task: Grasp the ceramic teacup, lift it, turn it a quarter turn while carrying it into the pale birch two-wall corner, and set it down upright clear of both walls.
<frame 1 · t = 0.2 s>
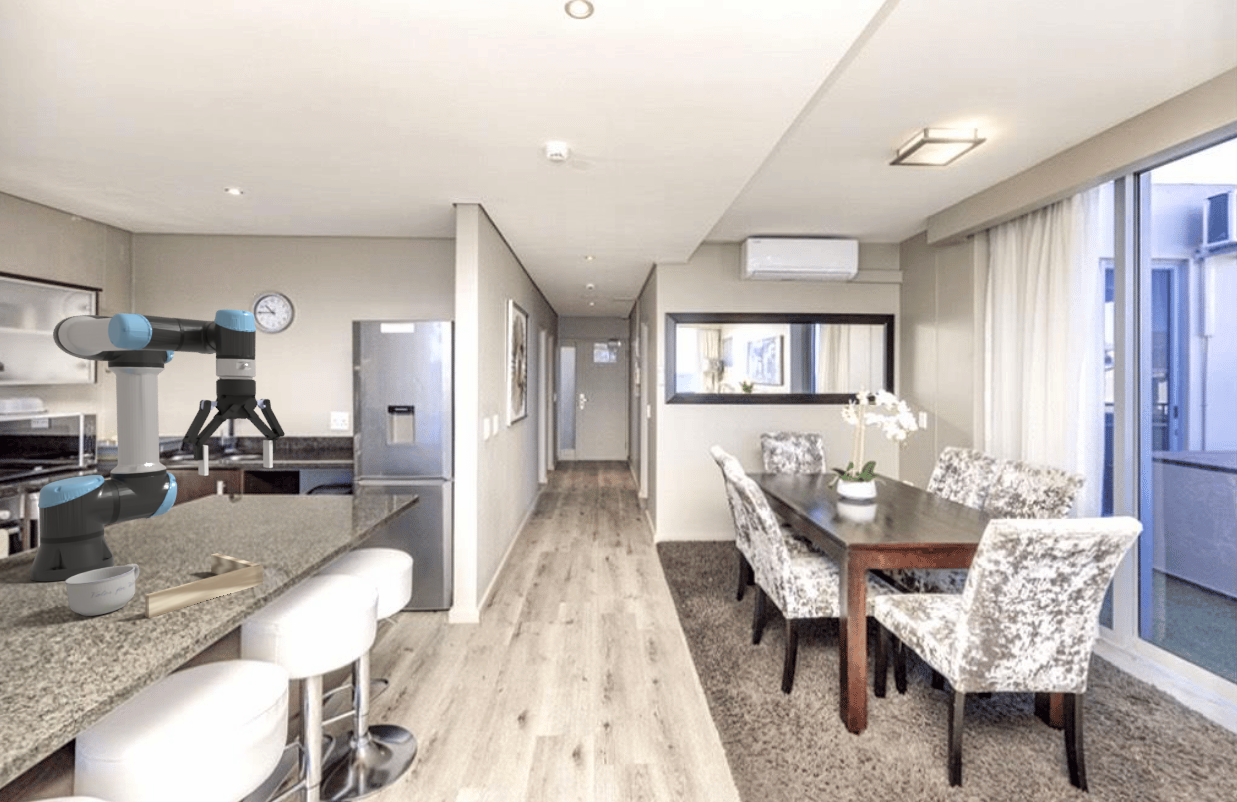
hand: (237, 471, 130), 27 cm above the counter, fingers open, 13 cm apart
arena: (184, 592, 128), on the counter
teacup: (109, 608, 120), on the counter
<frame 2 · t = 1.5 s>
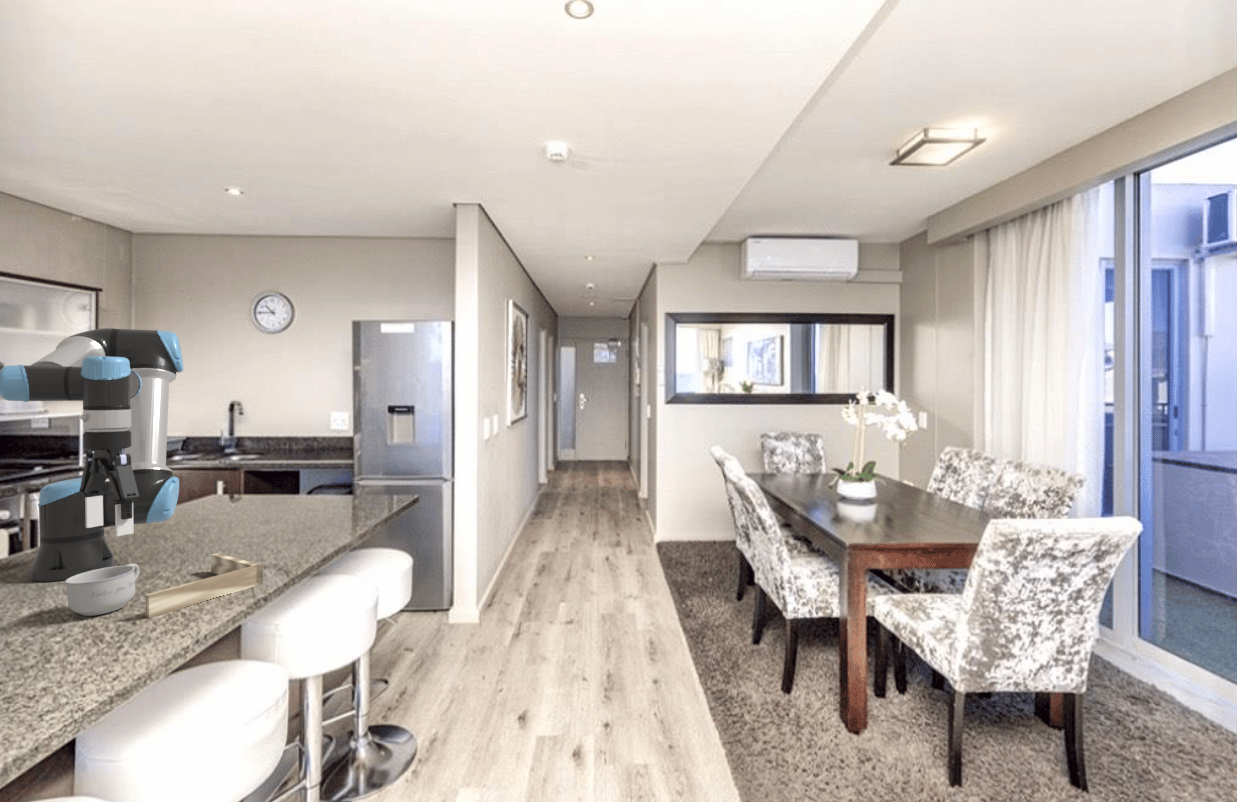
hand: (109, 530, 119), 16 cm above the counter, fingers open, 13 cm apart
nothing on the counter moved.
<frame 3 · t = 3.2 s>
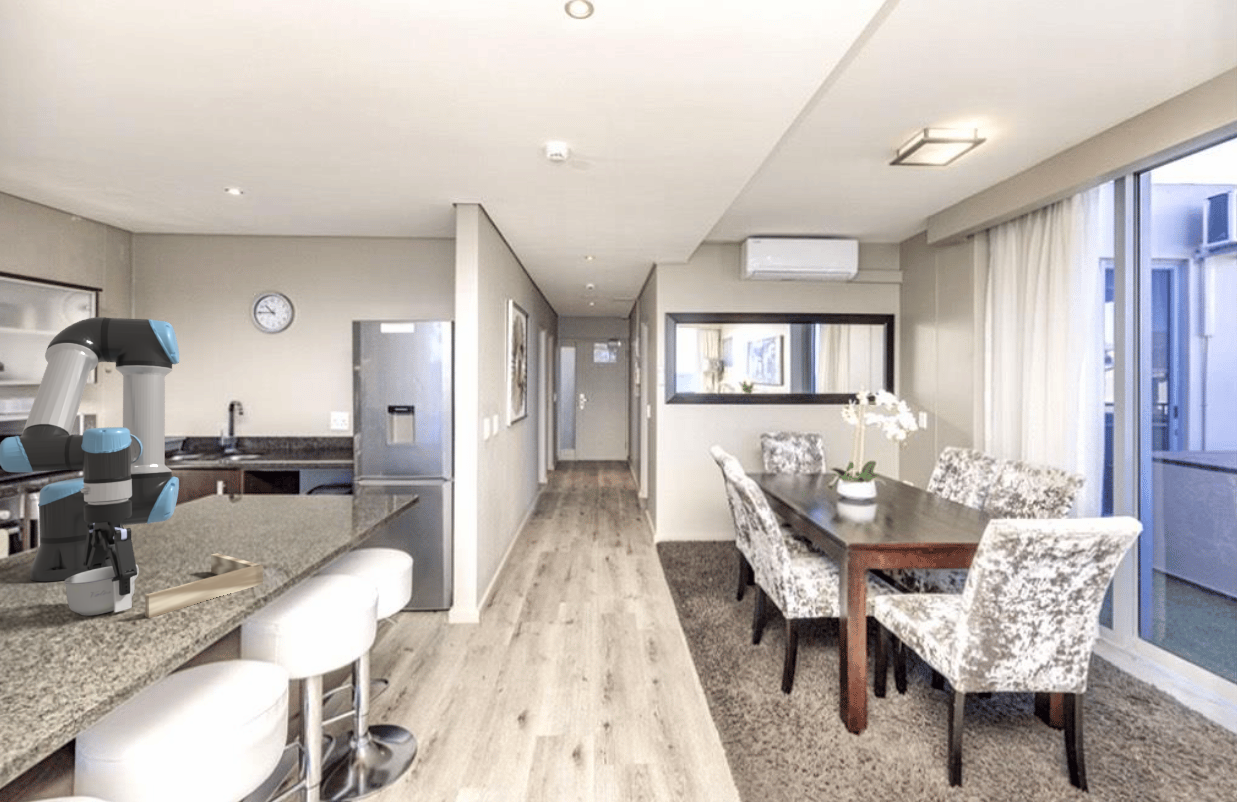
hand: (110, 604, 120), 1 cm above the counter, fingers closed on teacup, 11 cm apart
teacup: (109, 608, 120), on the counter, touching gripper
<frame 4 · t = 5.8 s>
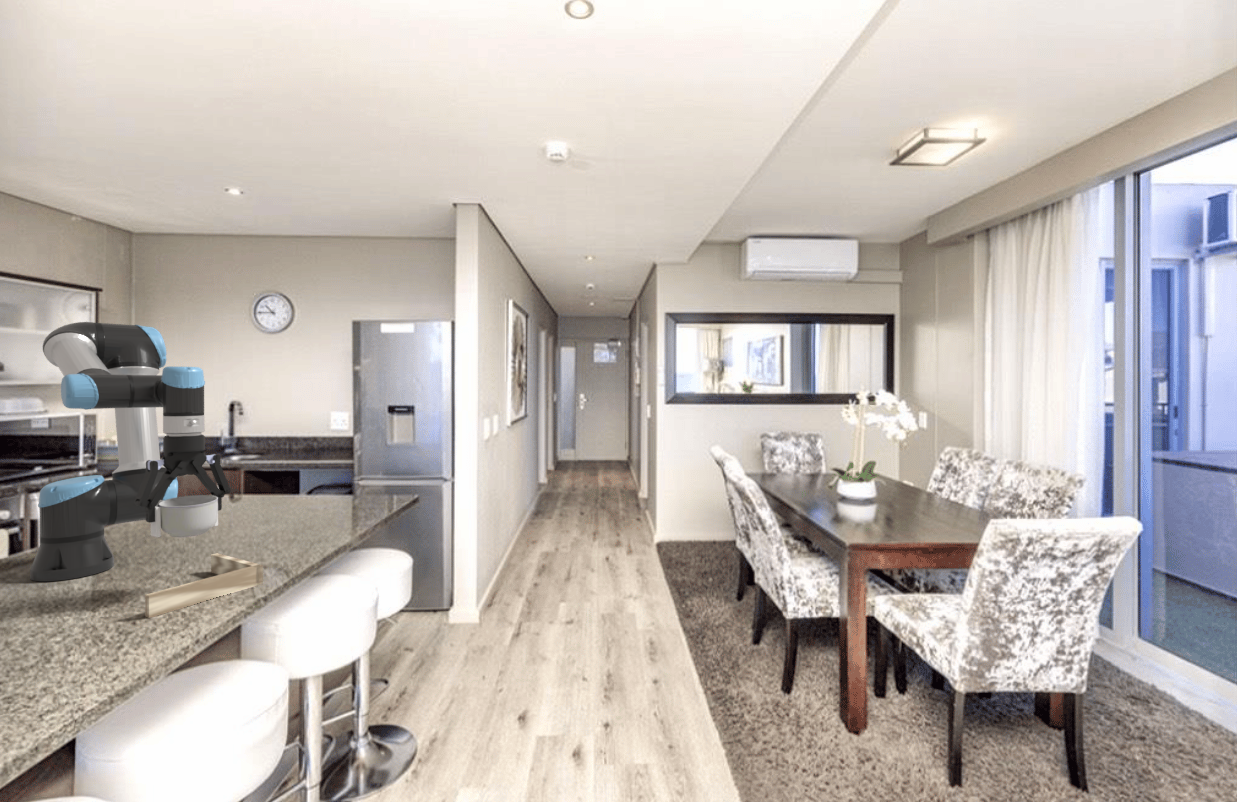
hand: (185, 530, 129), 14 cm above the counter, fingers closed on teacup, 11 cm apart
teacup: (183, 534, 129), point 13 cm above the counter, touching gripper
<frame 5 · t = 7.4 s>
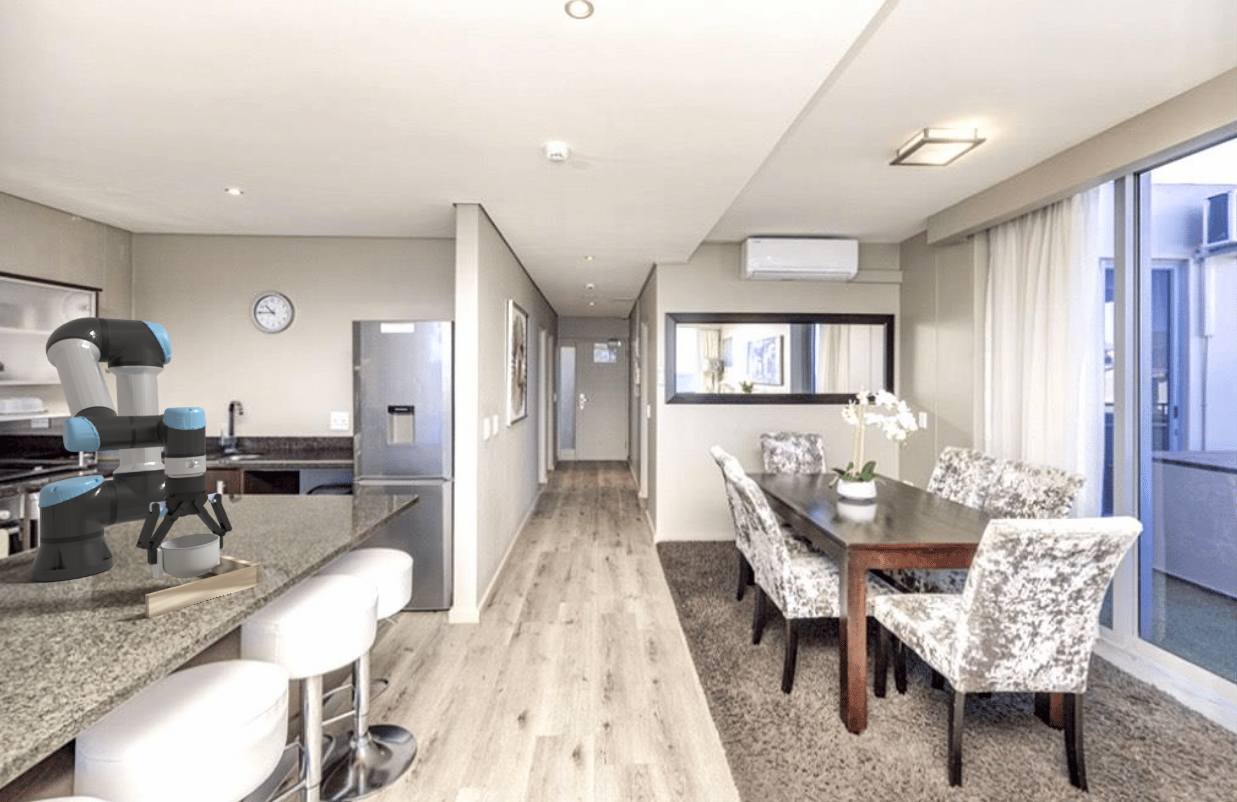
hand: (187, 570, 130), 5 cm above the counter, fingers closed on teacup, 11 cm apart
teacup: (185, 574, 129), point 4 cm above the counter, touching gripper
when the fingers open (2 cm above the counter, at t = 8.6 s): teacup drops 1 cm, on the counter.
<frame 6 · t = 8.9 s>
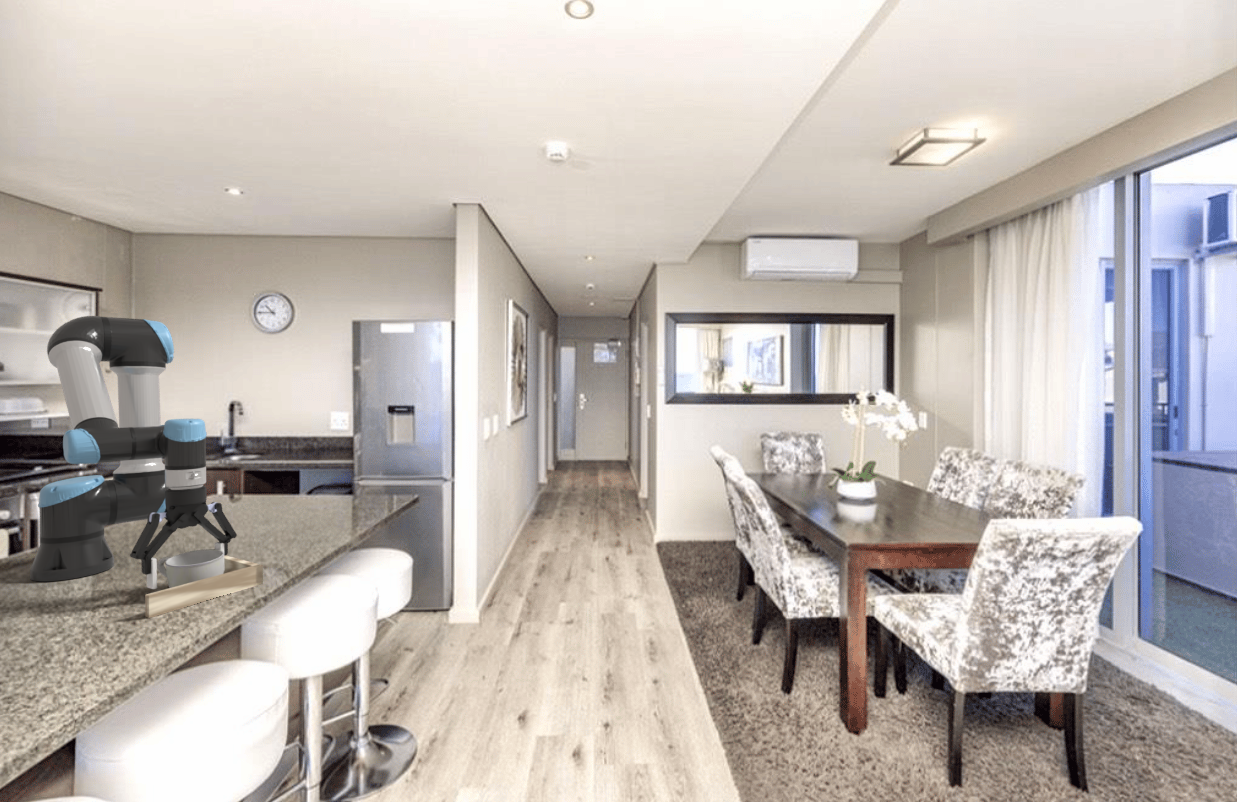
hand: (187, 578, 130), 3 cm above the counter, fingers open, 13 cm apart
teacup: (190, 590, 130), on the counter
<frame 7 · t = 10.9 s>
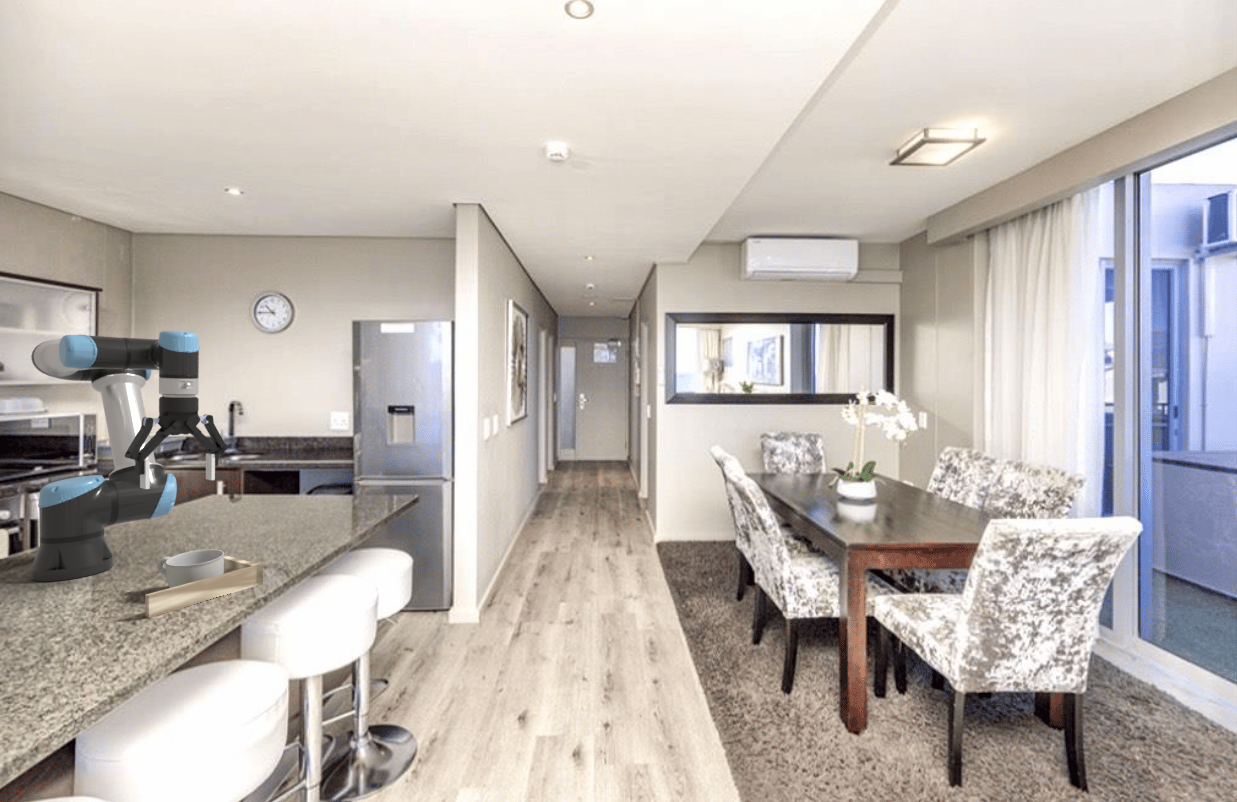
hand: (179, 483, 137), 23 cm above the counter, fingers open, 13 cm apart
nothing on the counter moved.
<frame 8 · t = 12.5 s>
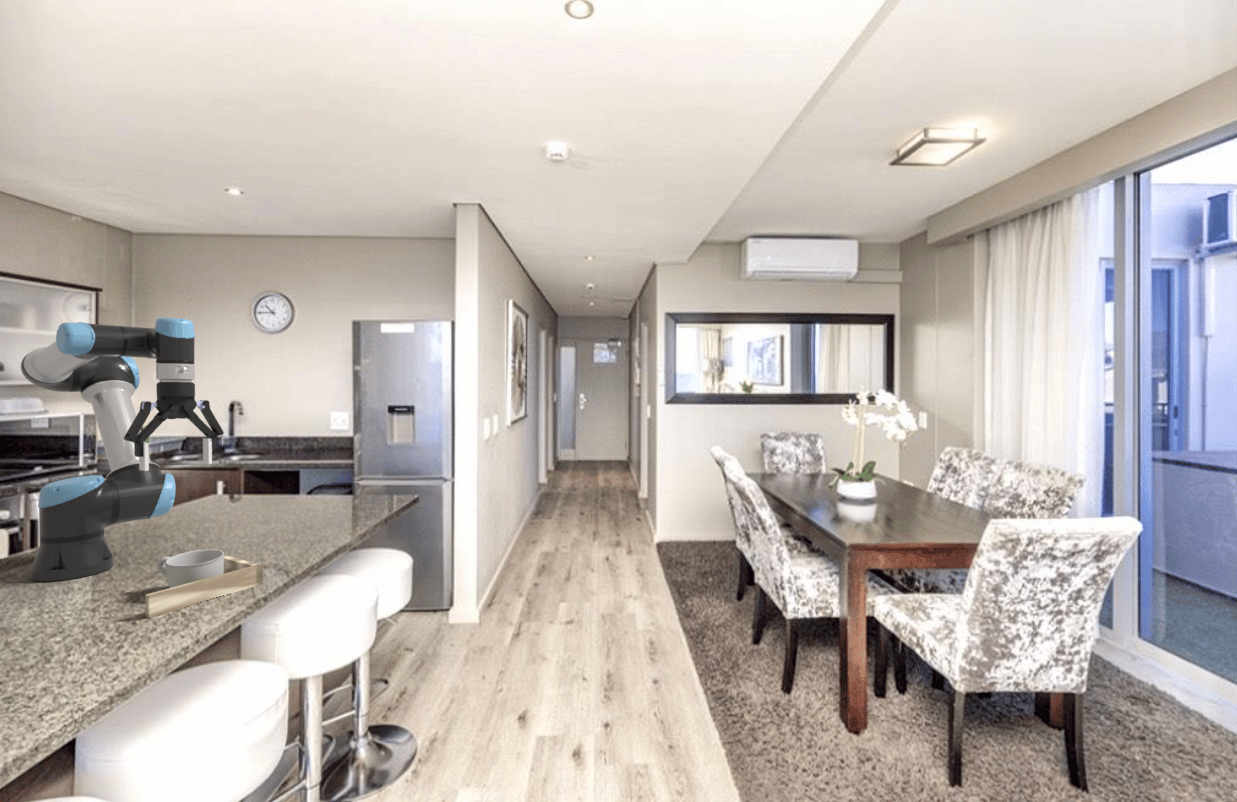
hand: (177, 466, 141), 27 cm above the counter, fingers open, 13 cm apart
nothing on the counter moved.
at the end: teacup inside the target area (0.6 cm from its centre), on the counter; teacup tilted 0°; teacup touching counter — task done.
